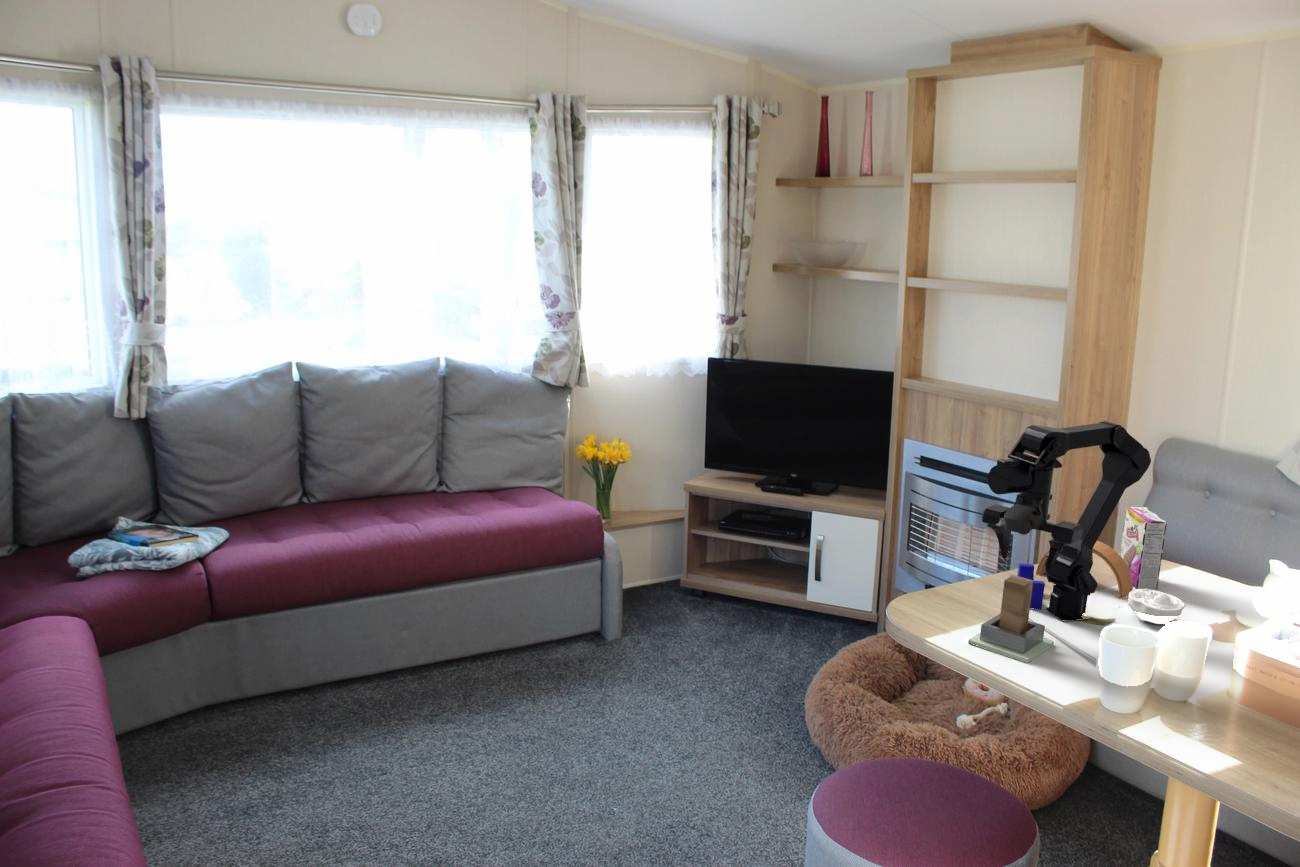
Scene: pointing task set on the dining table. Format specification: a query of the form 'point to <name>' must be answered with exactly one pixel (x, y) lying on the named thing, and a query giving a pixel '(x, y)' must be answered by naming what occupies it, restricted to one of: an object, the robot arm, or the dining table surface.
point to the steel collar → (1012, 636)
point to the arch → (1112, 560)
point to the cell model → (1155, 603)
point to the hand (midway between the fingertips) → (1026, 564)
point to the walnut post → (1016, 604)
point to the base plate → (1012, 654)
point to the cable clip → (1037, 588)
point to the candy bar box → (1143, 546)
